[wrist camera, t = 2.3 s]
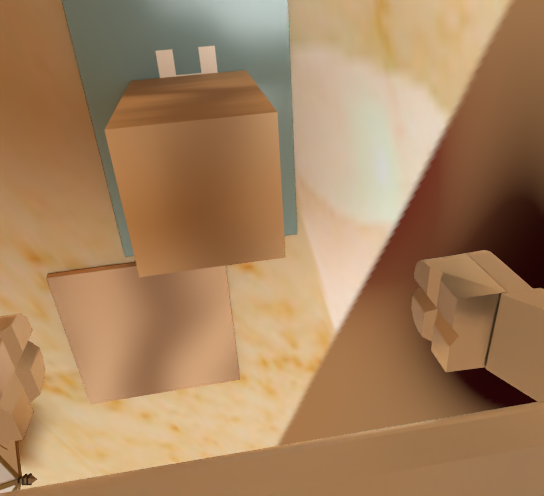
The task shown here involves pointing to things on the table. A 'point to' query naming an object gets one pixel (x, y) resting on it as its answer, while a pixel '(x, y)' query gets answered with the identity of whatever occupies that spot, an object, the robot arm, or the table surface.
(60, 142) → the table surface
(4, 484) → the game die
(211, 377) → the cork mat
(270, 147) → the oak block
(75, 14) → the tile
